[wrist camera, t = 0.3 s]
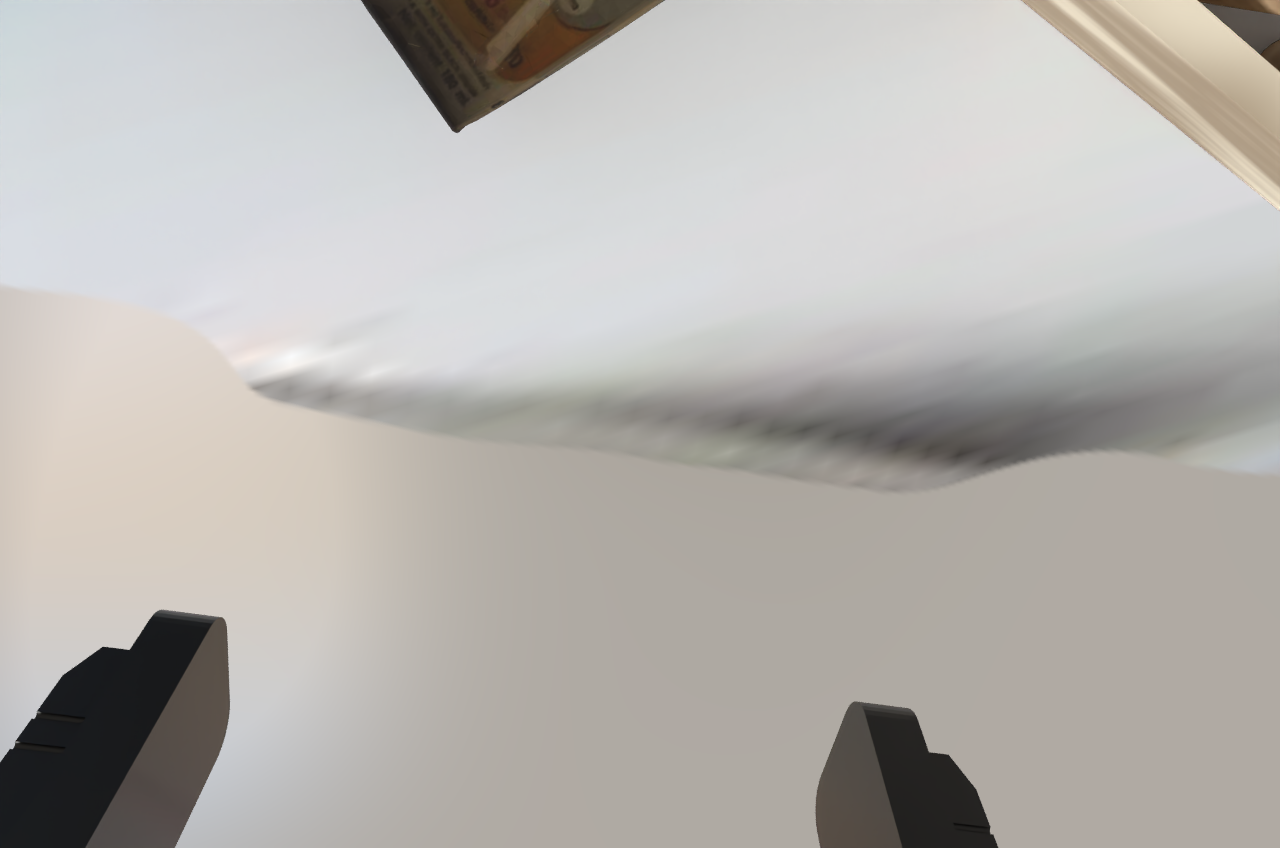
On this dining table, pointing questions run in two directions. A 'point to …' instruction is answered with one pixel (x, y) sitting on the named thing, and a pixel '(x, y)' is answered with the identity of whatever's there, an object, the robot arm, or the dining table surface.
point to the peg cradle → (1189, 73)
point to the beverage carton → (494, 45)
